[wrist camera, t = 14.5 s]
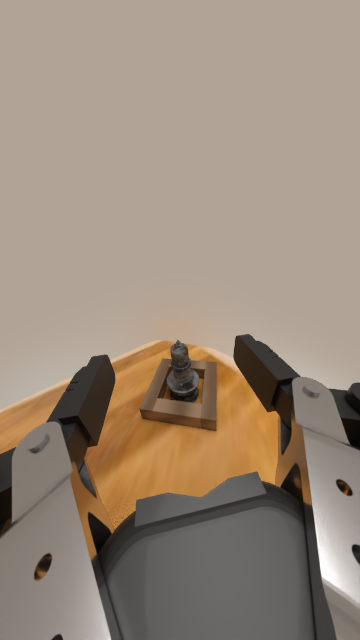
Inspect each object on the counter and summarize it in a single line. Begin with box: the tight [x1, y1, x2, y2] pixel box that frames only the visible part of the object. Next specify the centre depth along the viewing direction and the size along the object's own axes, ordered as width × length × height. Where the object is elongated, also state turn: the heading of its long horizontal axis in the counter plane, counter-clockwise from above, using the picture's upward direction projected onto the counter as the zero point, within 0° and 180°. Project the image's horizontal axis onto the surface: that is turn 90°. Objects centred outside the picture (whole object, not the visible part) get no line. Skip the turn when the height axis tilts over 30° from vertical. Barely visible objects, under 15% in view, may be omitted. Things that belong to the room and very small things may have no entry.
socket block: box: [140, 359, 216, 431], centre depth 29 cm, size 12×12×2 cm
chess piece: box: [167, 340, 199, 403], centre depth 27 cm, size 6×6×12 cm
